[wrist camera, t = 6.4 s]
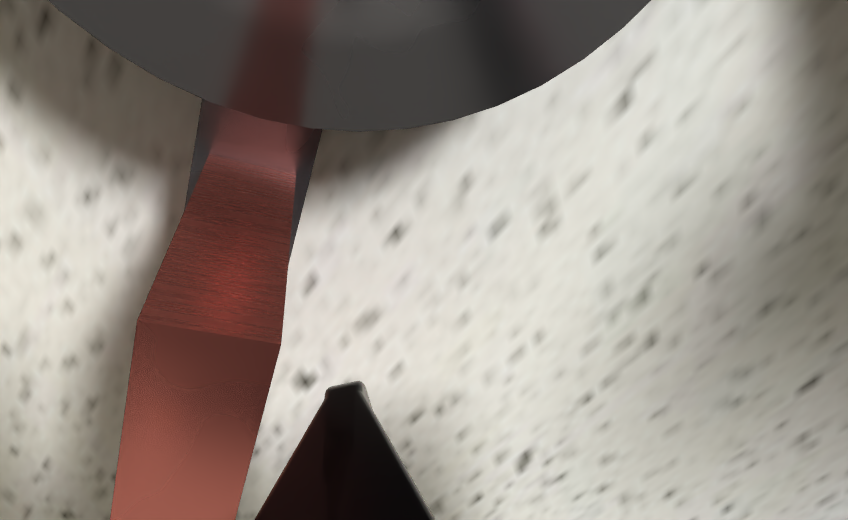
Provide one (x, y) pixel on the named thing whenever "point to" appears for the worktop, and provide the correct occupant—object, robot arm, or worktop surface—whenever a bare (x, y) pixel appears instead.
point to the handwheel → (284, 186)
